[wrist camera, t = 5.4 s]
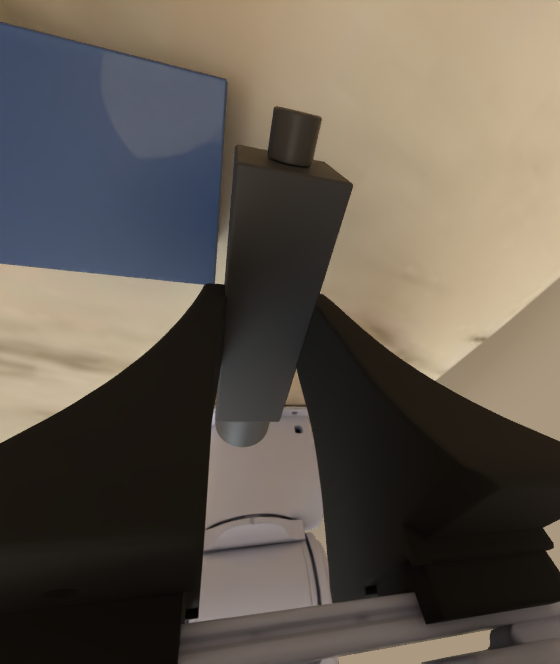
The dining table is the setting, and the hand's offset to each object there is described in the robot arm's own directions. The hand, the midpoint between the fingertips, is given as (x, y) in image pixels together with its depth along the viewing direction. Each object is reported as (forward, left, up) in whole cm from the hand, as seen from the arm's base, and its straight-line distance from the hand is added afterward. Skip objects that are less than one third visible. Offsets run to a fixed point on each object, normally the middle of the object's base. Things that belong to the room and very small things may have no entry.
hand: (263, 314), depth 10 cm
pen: (0, 0, -1) cm, 1 cm away
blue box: (+7, -2, -8) cm, 11 cm away
